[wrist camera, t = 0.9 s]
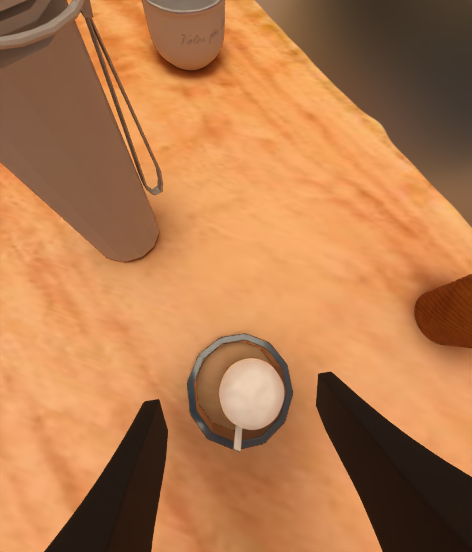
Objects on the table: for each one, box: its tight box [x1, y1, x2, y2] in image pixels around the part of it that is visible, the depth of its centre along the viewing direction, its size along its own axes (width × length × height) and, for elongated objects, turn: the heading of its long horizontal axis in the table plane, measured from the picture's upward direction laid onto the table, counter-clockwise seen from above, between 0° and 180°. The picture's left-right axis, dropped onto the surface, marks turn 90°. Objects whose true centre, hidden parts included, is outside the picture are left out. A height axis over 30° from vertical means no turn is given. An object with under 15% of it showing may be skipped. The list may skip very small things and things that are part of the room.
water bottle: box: [0, 0, 163, 262], centre depth 16 cm, size 9×8×25 cm
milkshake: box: [219, 358, 284, 452], centre depth 20 cm, size 4×5×10 cm
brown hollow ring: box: [187, 333, 293, 450], centre depth 23 cm, size 9×9×3 cm
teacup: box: [142, 0, 225, 70], centre depth 34 cm, size 14×11×8 cm
